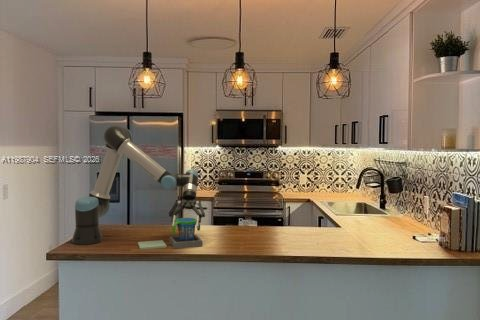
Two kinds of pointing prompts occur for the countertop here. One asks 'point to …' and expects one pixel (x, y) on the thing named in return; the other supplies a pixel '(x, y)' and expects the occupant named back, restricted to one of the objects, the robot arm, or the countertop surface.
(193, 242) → the square frame
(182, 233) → the snack cup
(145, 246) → the mat
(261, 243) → the countertop surface
